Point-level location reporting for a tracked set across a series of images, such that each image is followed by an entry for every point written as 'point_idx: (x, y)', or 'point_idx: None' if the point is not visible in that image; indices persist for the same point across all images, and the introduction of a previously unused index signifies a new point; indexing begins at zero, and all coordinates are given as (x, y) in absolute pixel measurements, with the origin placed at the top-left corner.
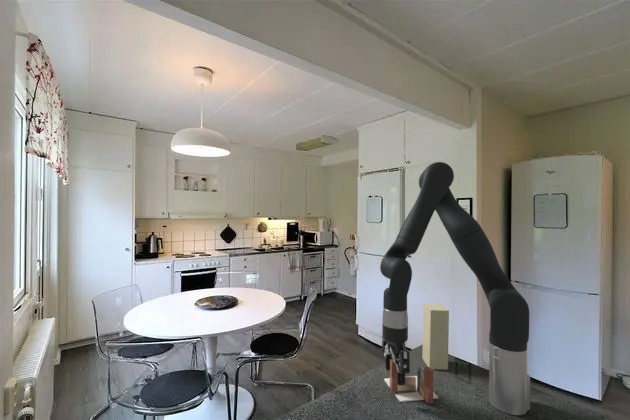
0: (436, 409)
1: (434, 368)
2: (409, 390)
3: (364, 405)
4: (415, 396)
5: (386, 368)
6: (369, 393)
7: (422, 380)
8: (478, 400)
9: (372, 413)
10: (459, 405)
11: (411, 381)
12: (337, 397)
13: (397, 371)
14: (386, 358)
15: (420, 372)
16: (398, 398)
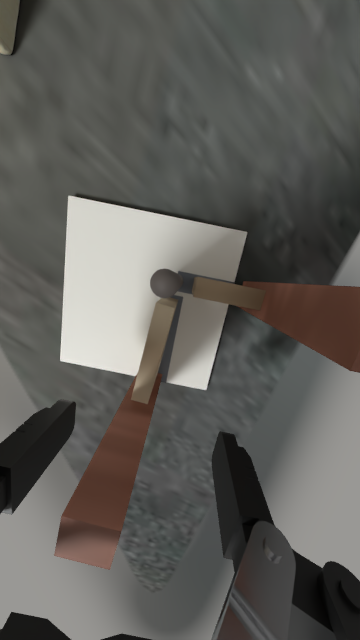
0: None
1: (12, 14)
2: None
3: (178, 484)
4: (205, 322)
5: (67, 439)
6: None
7: (209, 287)
8: (350, 22)
9: None
10: (324, 175)
11: (169, 328)
12: None
13: (227, 558)
14: (8, 510)
15: (179, 278)
16: (191, 386)
